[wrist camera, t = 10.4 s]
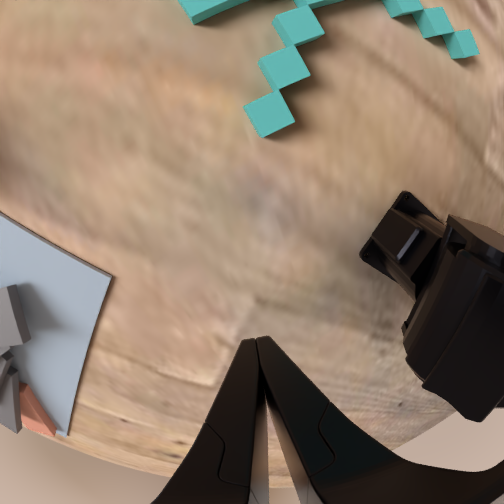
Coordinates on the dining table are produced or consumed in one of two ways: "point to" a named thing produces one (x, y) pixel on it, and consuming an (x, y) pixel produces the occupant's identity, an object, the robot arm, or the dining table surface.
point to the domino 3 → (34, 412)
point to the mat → (51, 315)
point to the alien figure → (308, 29)
